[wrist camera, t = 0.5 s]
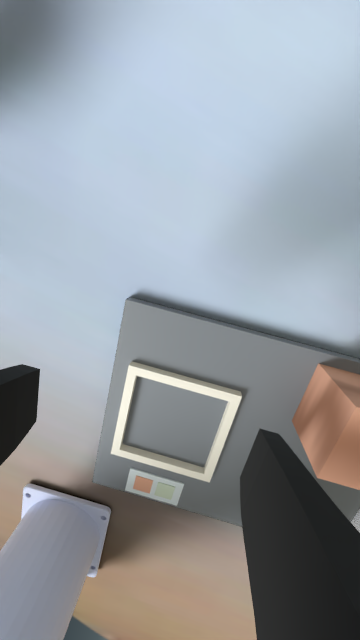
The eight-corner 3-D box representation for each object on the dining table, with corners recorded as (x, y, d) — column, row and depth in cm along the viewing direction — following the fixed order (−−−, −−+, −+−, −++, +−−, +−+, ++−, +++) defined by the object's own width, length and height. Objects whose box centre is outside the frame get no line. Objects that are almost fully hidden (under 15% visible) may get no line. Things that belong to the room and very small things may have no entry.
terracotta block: (356, 439, 18) (403, 502, 13) (291, 420, 18) (316, 477, 14) (389, 382, 16) (452, 433, 12) (318, 363, 16) (356, 407, 12)
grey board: (326, 541, 22) (333, 561, 20) (96, 473, 22) (88, 488, 21) (429, 377, 17) (448, 390, 15) (129, 296, 17) (122, 301, 16)
